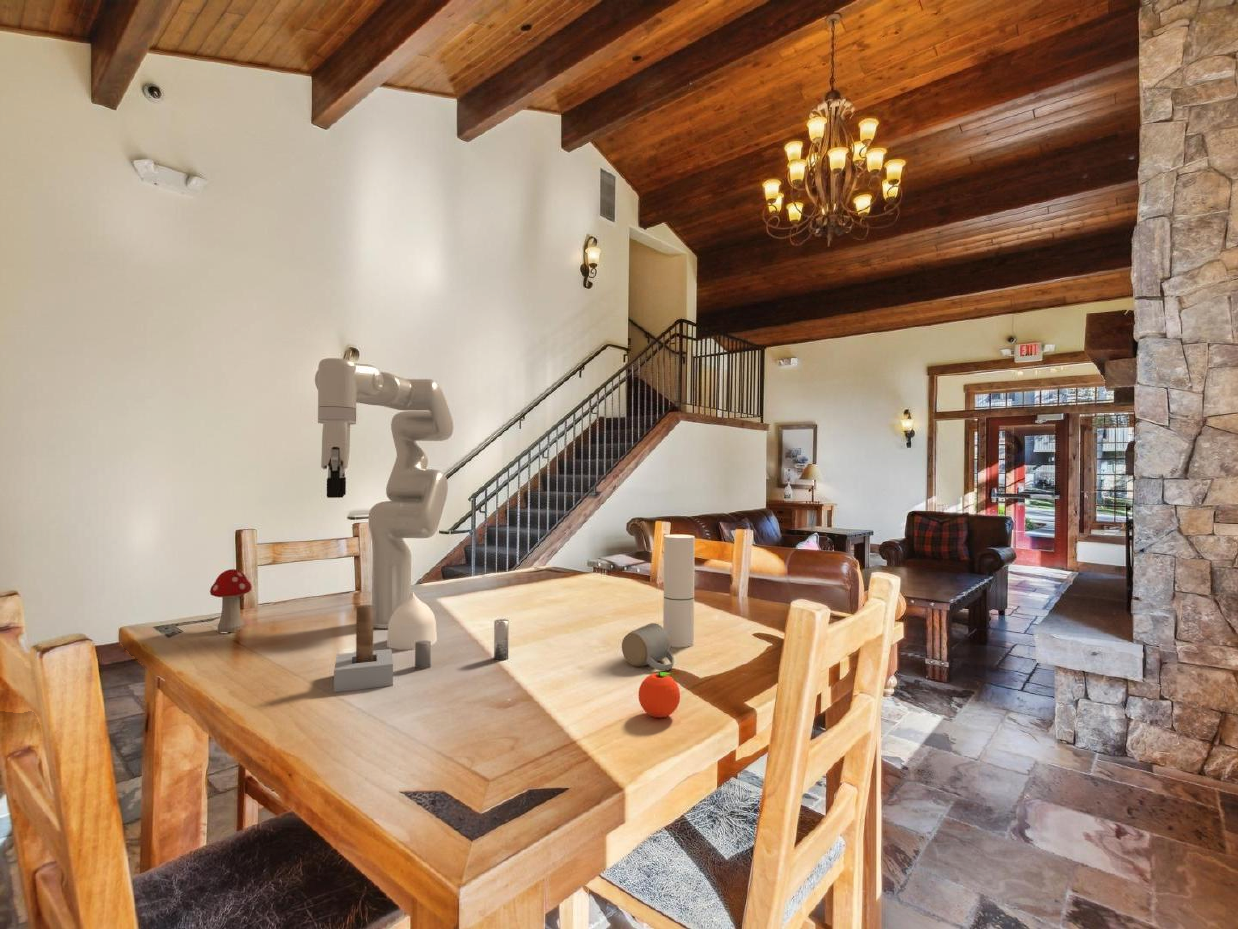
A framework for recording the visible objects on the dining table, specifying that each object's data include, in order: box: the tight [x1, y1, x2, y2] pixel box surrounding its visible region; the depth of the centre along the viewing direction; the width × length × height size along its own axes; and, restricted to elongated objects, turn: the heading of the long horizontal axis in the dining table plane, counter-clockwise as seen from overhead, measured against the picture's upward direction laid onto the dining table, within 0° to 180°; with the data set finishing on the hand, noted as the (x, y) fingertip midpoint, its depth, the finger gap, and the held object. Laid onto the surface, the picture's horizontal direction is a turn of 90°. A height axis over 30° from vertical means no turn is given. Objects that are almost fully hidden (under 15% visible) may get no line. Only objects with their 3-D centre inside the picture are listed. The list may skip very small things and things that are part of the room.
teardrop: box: [386, 590, 438, 650], centre depth 142 cm, size 11×11×12 cm
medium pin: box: [493, 618, 510, 661], centre depth 131 cm, size 3×3×8 cm
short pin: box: [414, 640, 432, 671], centre depth 125 cm, size 3×3×5 cm
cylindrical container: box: [662, 534, 696, 648], centre depth 144 cm, size 7×7×25 cm
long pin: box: [355, 604, 374, 663], centre depth 117 cm, size 3×3×14 cm
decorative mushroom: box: [209, 568, 253, 633], centre depth 151 cm, size 10×9×15 cm
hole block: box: [333, 648, 394, 693], centre depth 117 cm, size 10×10×4 cm
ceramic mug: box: [621, 622, 675, 672], centre depth 128 cm, size 11×8×8 cm
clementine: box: [638, 671, 681, 718], centre depth 102 cm, size 8×7×7 cm
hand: (336, 496), depth 132 cm, fingers open, 9 cm apart
